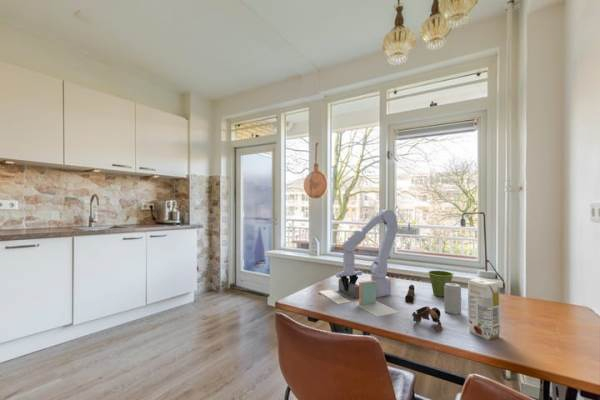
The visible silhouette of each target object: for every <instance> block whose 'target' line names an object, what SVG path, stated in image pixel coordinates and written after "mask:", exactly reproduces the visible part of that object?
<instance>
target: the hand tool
mask: <svg viewBox="0 0 600 400" xmlns="http://www.w3.org/2000/svg"><path fill="white" fill-rule="evenodd" d="M414 300H415V286H414V284H410V285H409V286H408V290H407V293H406V295H405V297H404V301H405V302H406V303H411V304H413V303H414Z"/></svg>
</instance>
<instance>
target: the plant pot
mask: <svg viewBox="0 0 600 400" xmlns="http://www.w3.org/2000/svg"><path fill="white" fill-rule="evenodd" d="M427 273H428V275H429V279H430V283H431V287H432V288H431V289H432V293H433V295H434V296H436V297H439V296H440V297H444V286H445V283H452V280H453V276H454V273H453V272H450V271H447V270H446V271H445V270H428V272H427ZM440 297H439V298H440Z"/></svg>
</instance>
